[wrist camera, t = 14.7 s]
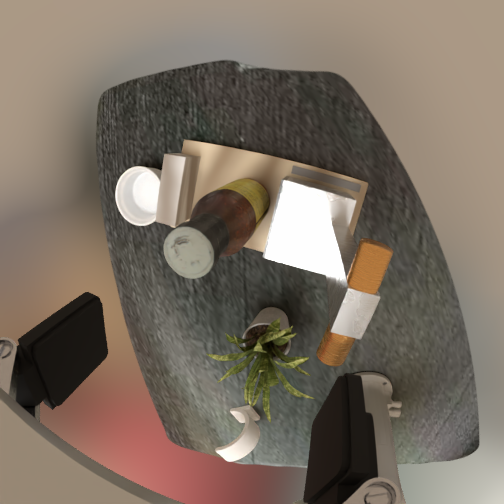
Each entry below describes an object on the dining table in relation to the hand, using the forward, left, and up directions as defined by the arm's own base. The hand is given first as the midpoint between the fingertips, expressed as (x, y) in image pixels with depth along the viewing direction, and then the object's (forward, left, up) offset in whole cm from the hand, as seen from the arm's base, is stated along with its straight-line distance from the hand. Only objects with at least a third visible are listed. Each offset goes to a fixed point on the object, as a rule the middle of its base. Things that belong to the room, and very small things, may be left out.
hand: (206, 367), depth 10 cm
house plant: (-4, +19, -32) cm, 37 cm away
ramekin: (+21, +2, -32) cm, 38 cm away
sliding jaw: (-3, 0, -29) cm, 30 cm away
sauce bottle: (+5, 0, -30) cm, 30 cm away
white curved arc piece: (-4, +44, -32) cm, 54 cm away
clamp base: (+3, 0, -32) cm, 32 cm away
